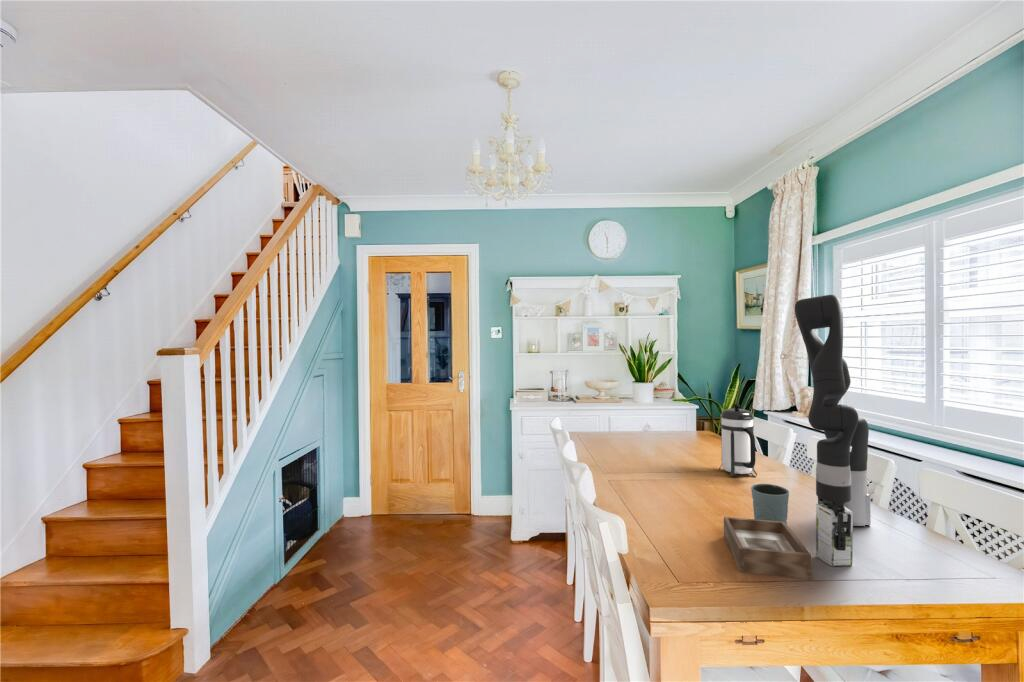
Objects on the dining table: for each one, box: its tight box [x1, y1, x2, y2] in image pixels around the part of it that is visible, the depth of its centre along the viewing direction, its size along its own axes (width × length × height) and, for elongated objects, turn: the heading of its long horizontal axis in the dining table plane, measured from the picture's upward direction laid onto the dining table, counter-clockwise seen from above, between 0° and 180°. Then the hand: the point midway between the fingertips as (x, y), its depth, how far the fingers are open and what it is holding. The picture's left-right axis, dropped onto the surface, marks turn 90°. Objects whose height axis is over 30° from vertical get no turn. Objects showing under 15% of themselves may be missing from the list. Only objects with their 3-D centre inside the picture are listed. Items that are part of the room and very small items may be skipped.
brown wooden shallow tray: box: [723, 516, 813, 580], centre depth 121 cm, size 16×20×6 cm
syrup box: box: [815, 503, 854, 567], centre depth 118 cm, size 6×6×14 cm
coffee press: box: [718, 402, 758, 479], centre depth 190 cm, size 17×16×30 cm
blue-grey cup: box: [750, 483, 790, 525], centre depth 139 cm, size 10×10×12 cm
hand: (833, 543), depth 118 cm, fingers closed on syrup box, 6 cm apart
